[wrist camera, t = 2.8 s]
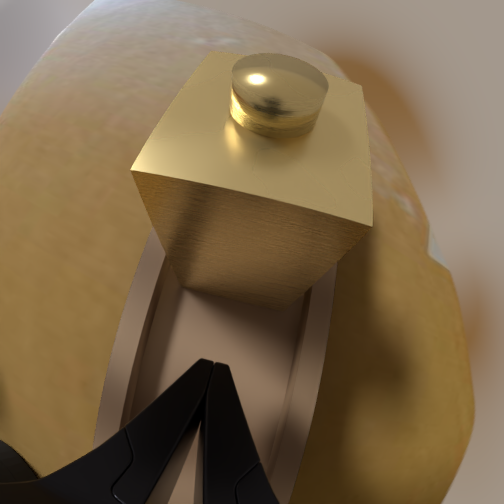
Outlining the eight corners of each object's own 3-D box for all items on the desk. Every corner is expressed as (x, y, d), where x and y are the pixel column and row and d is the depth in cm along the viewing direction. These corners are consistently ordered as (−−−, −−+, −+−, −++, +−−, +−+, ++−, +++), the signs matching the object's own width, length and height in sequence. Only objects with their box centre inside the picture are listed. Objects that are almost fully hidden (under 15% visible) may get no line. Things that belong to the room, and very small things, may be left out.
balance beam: (265, 499, 12) (286, 549, 6) (116, 462, 11) (74, 497, 6) (324, 181, 20) (352, 126, 15) (207, 153, 20) (206, 92, 15)
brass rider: (283, 311, 12) (400, 198, 4) (181, 286, 12) (117, 132, 4) (299, 215, 14) (372, 60, 6) (211, 193, 14) (211, 23, 6)
